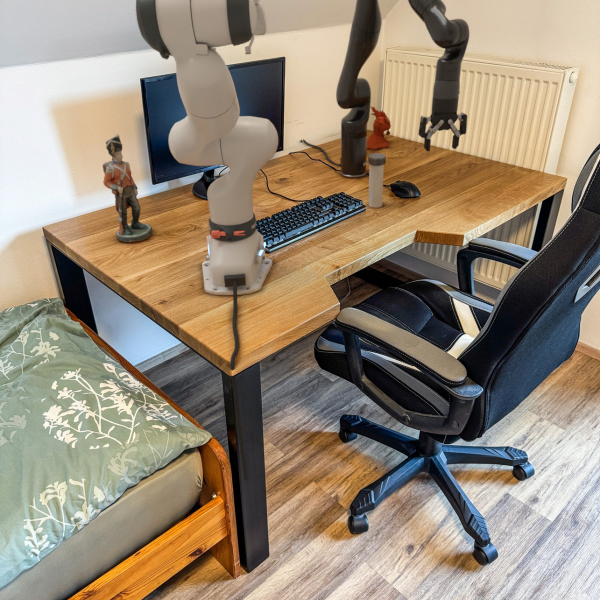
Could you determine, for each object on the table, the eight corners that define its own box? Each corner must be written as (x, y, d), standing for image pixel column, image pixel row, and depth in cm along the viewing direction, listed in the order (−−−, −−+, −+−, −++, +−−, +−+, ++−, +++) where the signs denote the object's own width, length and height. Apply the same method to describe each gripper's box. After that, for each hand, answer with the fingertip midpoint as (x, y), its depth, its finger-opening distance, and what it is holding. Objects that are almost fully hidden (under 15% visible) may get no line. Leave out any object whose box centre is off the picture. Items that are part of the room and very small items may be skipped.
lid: (367, 165, 173) (368, 158, 172) (368, 160, 178) (368, 153, 176) (385, 165, 172) (385, 158, 171) (385, 160, 177) (386, 153, 176)
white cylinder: (368, 207, 181) (369, 159, 173) (368, 202, 185) (370, 155, 176) (382, 207, 180) (384, 159, 172) (382, 202, 184) (384, 155, 176)
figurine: (143, 244, 164) (122, 142, 148) (110, 242, 166) (86, 141, 150) (158, 228, 173) (139, 130, 157) (126, 227, 175) (105, 130, 159)
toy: (397, 145, 235) (399, 108, 227) (362, 152, 228) (362, 115, 220) (381, 138, 244) (382, 102, 236) (346, 145, 238) (346, 108, 230)
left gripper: (182, -1, 142) (190, 58, 149) (263, -5, 141) (267, 55, 149) (187, -3, 147) (194, 54, 154) (265, -6, 147) (268, 51, 154)
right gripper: (464, 90, 169) (458, 144, 178) (418, 94, 168) (414, 147, 176) (474, 95, 163) (467, 151, 172) (426, 99, 162) (422, 155, 170)
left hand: (231, 54), depth 151 cm, fingers open, 8 cm apart
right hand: (440, 149), depth 174 cm, fingers open, 8 cm apart
